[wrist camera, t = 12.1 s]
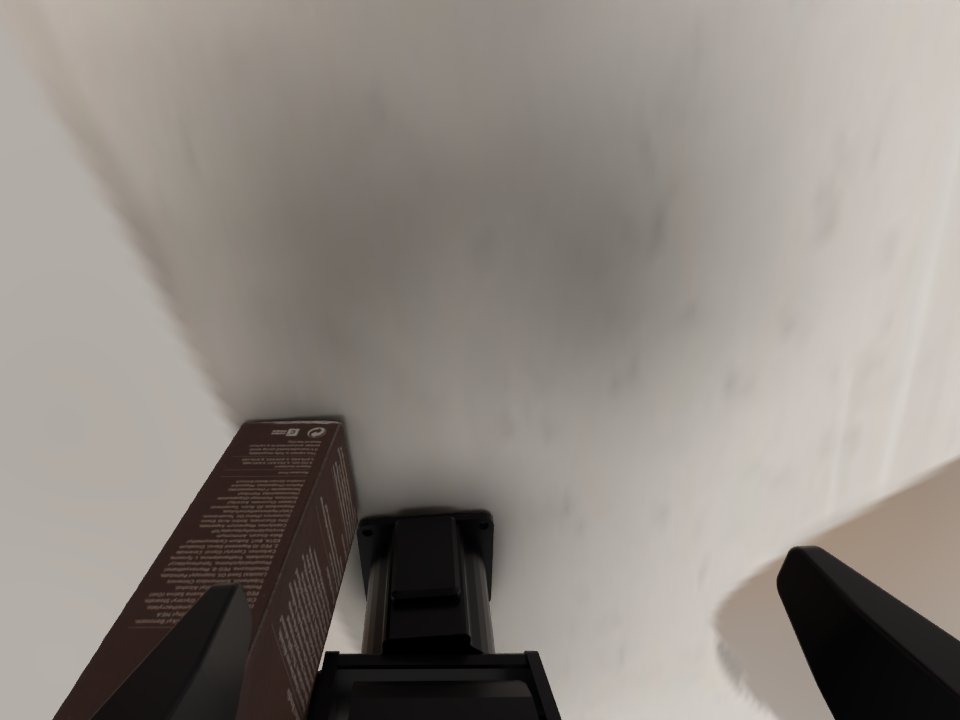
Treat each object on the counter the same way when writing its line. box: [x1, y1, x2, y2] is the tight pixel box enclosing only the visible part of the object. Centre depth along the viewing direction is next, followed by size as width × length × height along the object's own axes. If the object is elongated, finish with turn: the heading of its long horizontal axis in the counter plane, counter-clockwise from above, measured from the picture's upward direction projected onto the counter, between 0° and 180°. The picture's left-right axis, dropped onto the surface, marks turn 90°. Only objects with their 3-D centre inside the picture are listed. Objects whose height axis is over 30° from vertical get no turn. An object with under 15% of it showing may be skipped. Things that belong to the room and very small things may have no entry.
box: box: [53, 420, 358, 720], centre depth 18 cm, size 6×4×12 cm
